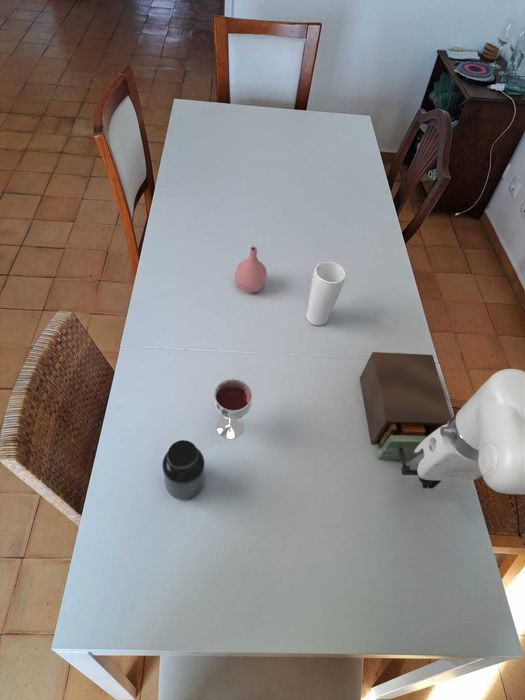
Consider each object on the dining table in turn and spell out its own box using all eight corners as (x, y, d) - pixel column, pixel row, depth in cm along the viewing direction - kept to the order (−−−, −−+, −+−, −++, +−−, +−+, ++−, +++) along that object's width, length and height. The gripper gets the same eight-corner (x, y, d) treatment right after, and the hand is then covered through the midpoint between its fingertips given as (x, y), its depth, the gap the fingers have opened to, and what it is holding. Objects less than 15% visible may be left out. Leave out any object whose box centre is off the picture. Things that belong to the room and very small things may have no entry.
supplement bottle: (202, 461, 84) (202, 431, 74) (206, 498, 80) (206, 471, 70) (165, 466, 83) (159, 436, 73) (166, 503, 79) (161, 477, 69)
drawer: (442, 485, 85) (461, 469, 79) (383, 484, 84) (397, 467, 77) (418, 395, 96) (433, 375, 90) (366, 393, 95) (377, 373, 89)
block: (416, 442, 88) (425, 431, 85) (394, 441, 88) (402, 431, 84) (411, 421, 91) (420, 410, 88) (390, 421, 91) (397, 409, 87)
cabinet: (432, 446, 91) (453, 423, 83) (371, 444, 89) (386, 421, 82) (415, 380, 100) (432, 354, 92) (359, 378, 99) (372, 351, 91)
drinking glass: (301, 326, 106) (313, 279, 94) (304, 305, 110) (316, 258, 98) (329, 331, 106) (345, 285, 94) (331, 310, 110) (347, 264, 98)
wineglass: (205, 429, 88) (205, 397, 78) (226, 405, 91) (229, 372, 82) (233, 449, 86) (237, 419, 76) (254, 423, 90) (260, 391, 80)
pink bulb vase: (241, 301, 109) (244, 263, 99) (229, 279, 113) (231, 241, 103) (270, 293, 111) (276, 256, 102) (257, 272, 115) (262, 235, 106)
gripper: (431, 457, 62) (387, 501, 76) (534, 460, 63) (472, 502, 78) (419, 408, 66) (380, 458, 81) (516, 412, 67) (460, 460, 82)
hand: (425, 480), depth 79 cm, fingers closed
